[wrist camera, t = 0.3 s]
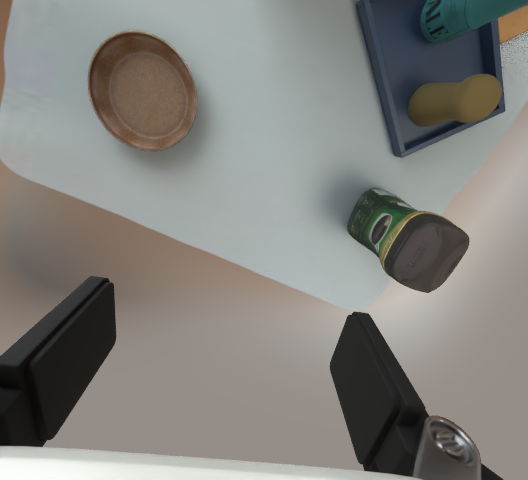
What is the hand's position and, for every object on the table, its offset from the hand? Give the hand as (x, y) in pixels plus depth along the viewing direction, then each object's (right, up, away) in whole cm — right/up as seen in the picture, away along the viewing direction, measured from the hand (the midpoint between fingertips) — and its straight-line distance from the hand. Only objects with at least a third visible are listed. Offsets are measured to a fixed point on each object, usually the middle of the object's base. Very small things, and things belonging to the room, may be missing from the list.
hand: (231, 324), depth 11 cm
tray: (+25, +29, +28) cm, 48 cm away
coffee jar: (+21, +8, +37) cm, 43 cm away
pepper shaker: (+26, +24, +30) cm, 46 cm away
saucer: (-16, +25, +29) cm, 41 cm away
